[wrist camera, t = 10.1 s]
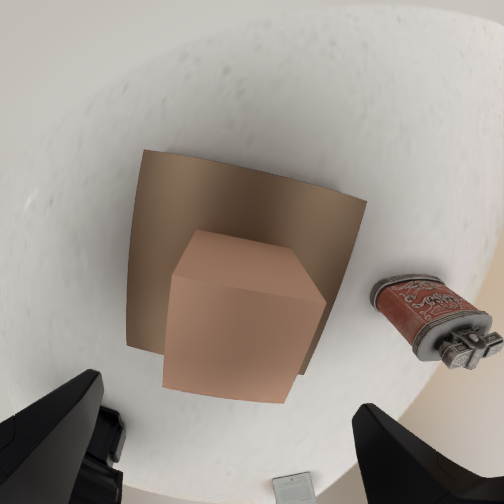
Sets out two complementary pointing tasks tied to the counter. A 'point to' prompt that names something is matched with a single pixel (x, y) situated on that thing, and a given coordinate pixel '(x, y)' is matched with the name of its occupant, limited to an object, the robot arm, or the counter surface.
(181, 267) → the terracotta block
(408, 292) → the lighter
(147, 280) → the plate
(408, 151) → the counter surface
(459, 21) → the counter surface
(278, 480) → the small box
